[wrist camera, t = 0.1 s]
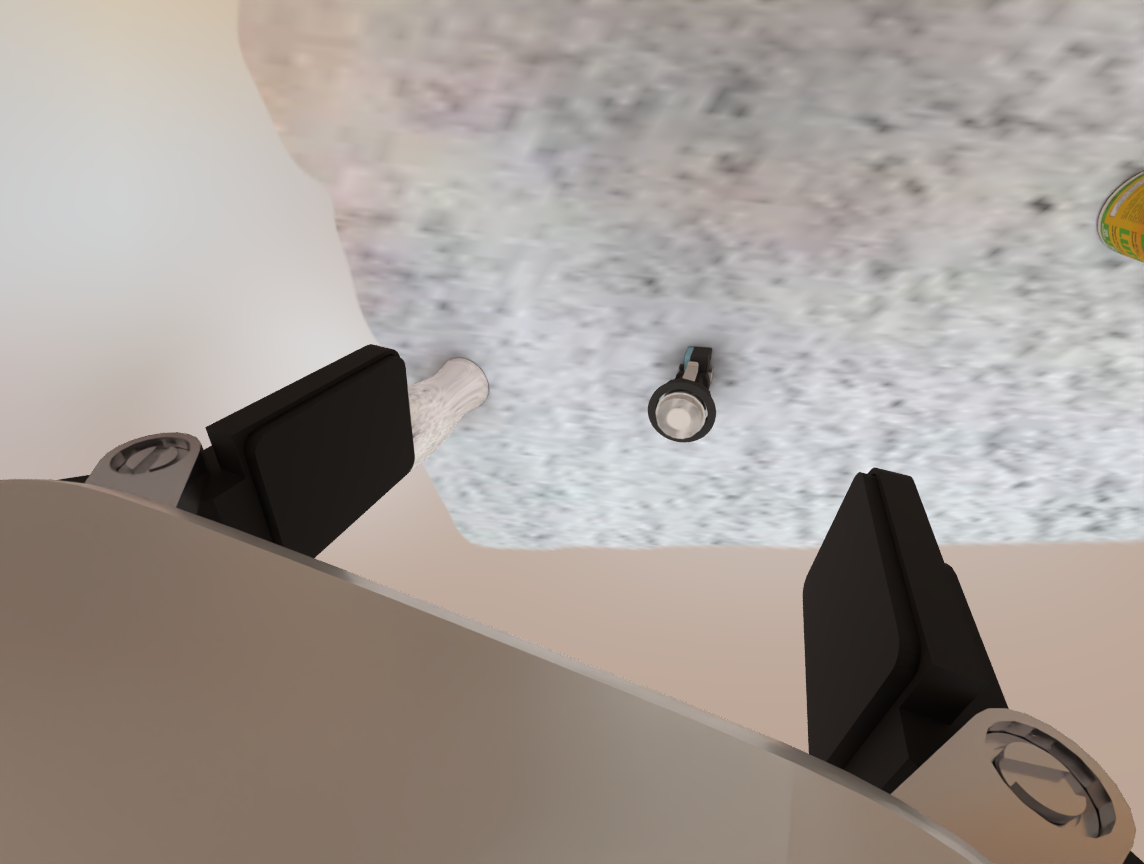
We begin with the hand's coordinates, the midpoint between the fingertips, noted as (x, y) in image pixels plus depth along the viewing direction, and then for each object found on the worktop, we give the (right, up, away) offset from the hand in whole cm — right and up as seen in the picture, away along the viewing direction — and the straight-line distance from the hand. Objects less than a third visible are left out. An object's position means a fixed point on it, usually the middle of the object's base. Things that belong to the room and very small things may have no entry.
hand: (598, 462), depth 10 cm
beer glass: (-13, +6, +47) cm, 49 cm away
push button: (+11, +6, +37) cm, 40 cm away
